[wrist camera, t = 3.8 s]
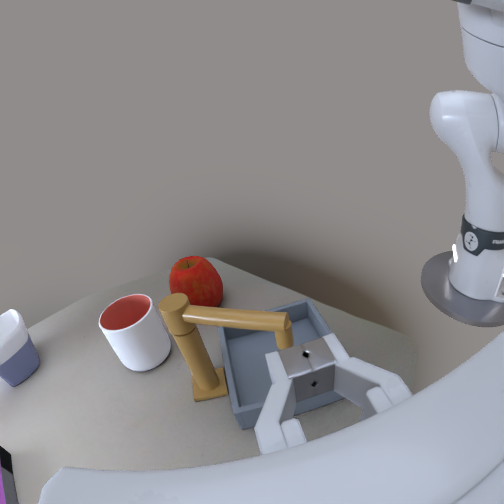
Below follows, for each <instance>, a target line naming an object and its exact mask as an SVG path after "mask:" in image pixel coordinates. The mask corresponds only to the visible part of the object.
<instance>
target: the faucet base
mask: <svg viewBox="0 0 504 504" xmlns="http://www.w3.org/2000/svg"><path fill="white" fill-rule="evenodd" d="M172 335H173V334H172ZM173 337H174V339H175V341H176V343H177V345H178V347H179V349H180V351H181V353H182V355H183V357H184V359H185V361H186V363H187V365H188V367H189V369H190V371H191V373H192V380H193V394H194V400H195V401H201V400H207V399H212V398H216V397H221V396H226V395H229V392H228V387H227V382H226V376H225V371H224V368H223V367H222V368H217V369H214V367H213V364H212V362H211V360H210V357H209V355H208V353H207V350H206V348H205V345H204V343H203V341H202V338H201V336H200V333H199V331H198V328H197V326H195V327H194V329H193V330H191V331H190V332H188V333H186V334H183V335H173Z"/></svg>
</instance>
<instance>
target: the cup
mask: <svg viewBox="0 0 504 504" xmlns="http://www.w3.org/2000/svg"><path fill="white" fill-rule="evenodd" d="M99 326H100V328H101V329H102V331H103V333H104V335H105V336H106V338H107V339H108V341H109V343H110V344H111V346H112V348H113V349H114V351H115V352H116V354H117V355H118V357H119V358H120V360H121V361H122V363H123V364H124V365H125V366H126V367H127V368H129V369H131V370H134V371H146V370H150V369H152V368H154V367H156V366H158V365H159V364H161V363H162V362H163V361H164V360H165V359H166V357H167V356H168V354H169V352H170V347H171V342H170V339H169V336H168V334H167V332H166V330H165V328H164V326H163V324H162V322H161V320H160V317H159V315H158V313H157V311H156V309H155V306H154V304H153V302H152V300H151V298H150V297H148V296H147V295H143V294H133V295H128V296H125V297H122V298H120V299H118V300H116V301H114V302H113V303H111V304H110V305H109V306H108V307H107V308H106V309H105V310H104V311H103V312H102V314H101V316H100V318H99Z"/></svg>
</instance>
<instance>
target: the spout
mask: <svg viewBox="0 0 504 504" xmlns="http://www.w3.org/2000/svg"><path fill="white" fill-rule="evenodd" d="M158 308H159V310H160V313H161V315H162V317H163V319H164V321H165V323H166V326H167V328H168V330H169V332H170V333H171V334H173V335H183V334H186V333H188V332H190V331H191V330H193V329H194V327H195V326H196V323H197V324H205V325H213V326H221V327H230V328H239V329H249V330H260V331H272V332H275V338H276V343H277V347H278V348H279V349H281V350H282V349H286V348H289V347H293V345H294V340H293V332H292V324H291V321H290V320H289V314H288V313H287V312H271V311H255V310H241V309H229V308H217V307H206V306H196V305H190V303H189V300H188V297H187V296H186V295H185V294H183V293H174V294H171V295H168V296H166V297H165V298H163V299H162V300H161V301H160V303H159V305H158Z"/></svg>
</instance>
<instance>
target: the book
mask: <svg viewBox="0 0 504 504" xmlns="http://www.w3.org/2000/svg"><path fill="white" fill-rule="evenodd" d="M0 504H18V500H17V495H16V490H15V484H14V478H13V471H12V463H11V454H10V453H8V452H7V451H6V450H5V449H4V448H2V447H1V446H0Z"/></svg>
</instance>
